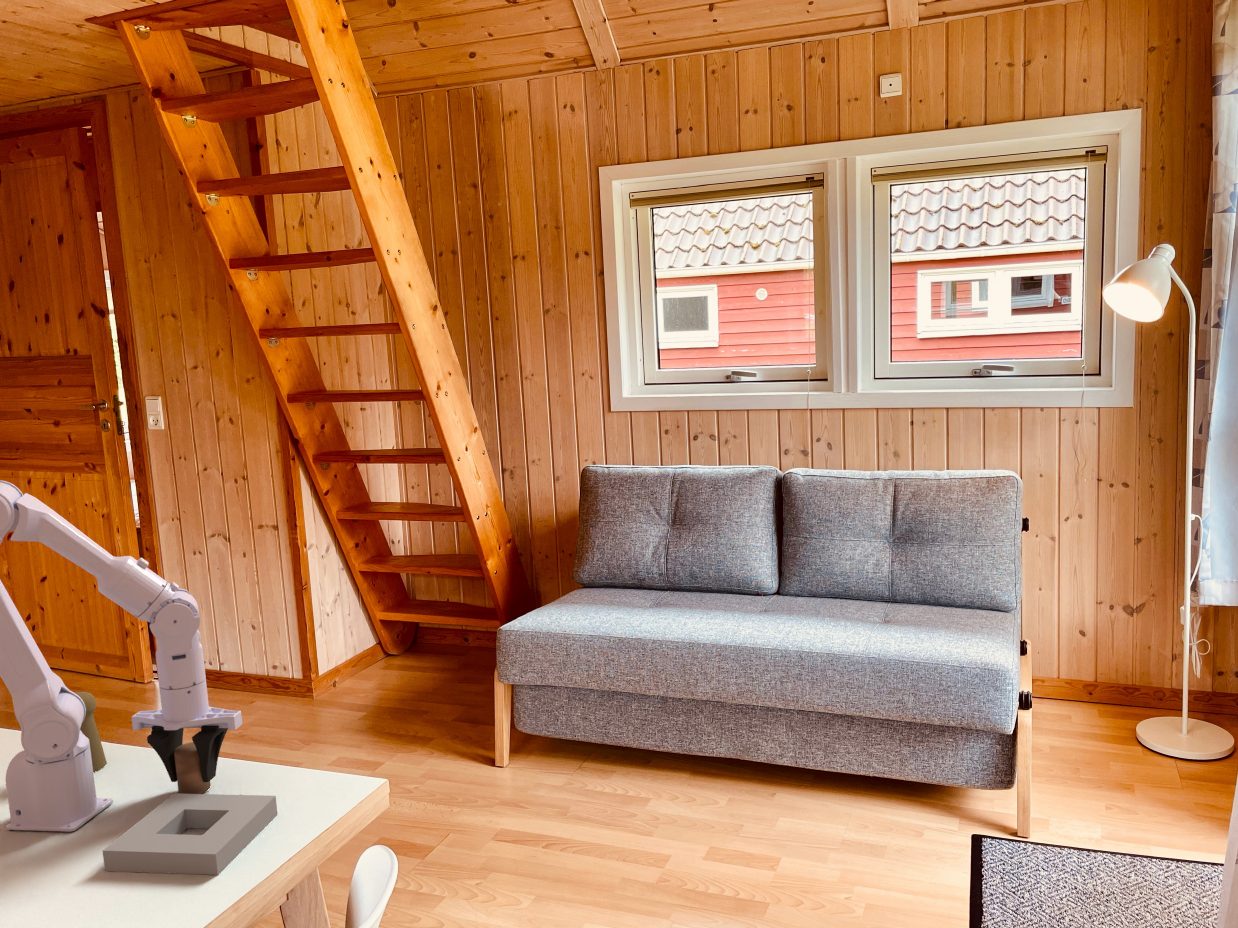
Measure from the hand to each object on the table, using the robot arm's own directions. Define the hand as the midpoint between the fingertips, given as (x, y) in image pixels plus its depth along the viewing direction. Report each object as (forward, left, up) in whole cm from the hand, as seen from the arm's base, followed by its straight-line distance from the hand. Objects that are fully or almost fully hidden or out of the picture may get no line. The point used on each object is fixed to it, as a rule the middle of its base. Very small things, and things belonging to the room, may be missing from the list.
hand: (193, 778), depth 133 cm
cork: (-21, +6, -2) cm, 22 cm away
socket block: (+8, -13, -2) cm, 15 cm away
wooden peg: (0, 0, -2) cm, 2 cm away
